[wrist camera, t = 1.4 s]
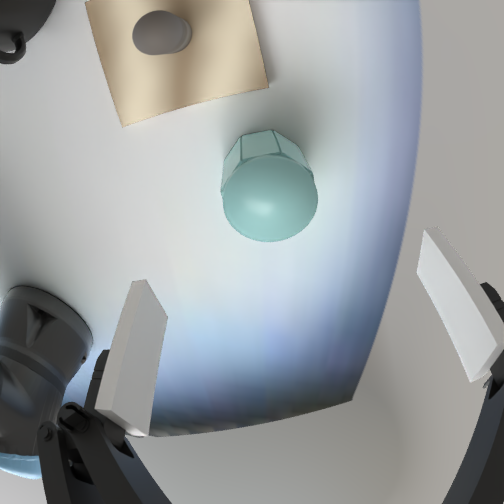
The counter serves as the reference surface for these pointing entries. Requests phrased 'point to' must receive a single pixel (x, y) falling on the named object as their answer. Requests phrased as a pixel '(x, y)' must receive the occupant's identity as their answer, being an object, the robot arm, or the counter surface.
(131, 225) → the counter surface
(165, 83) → the post block
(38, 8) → the mug
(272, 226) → the cap
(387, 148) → the counter surface
